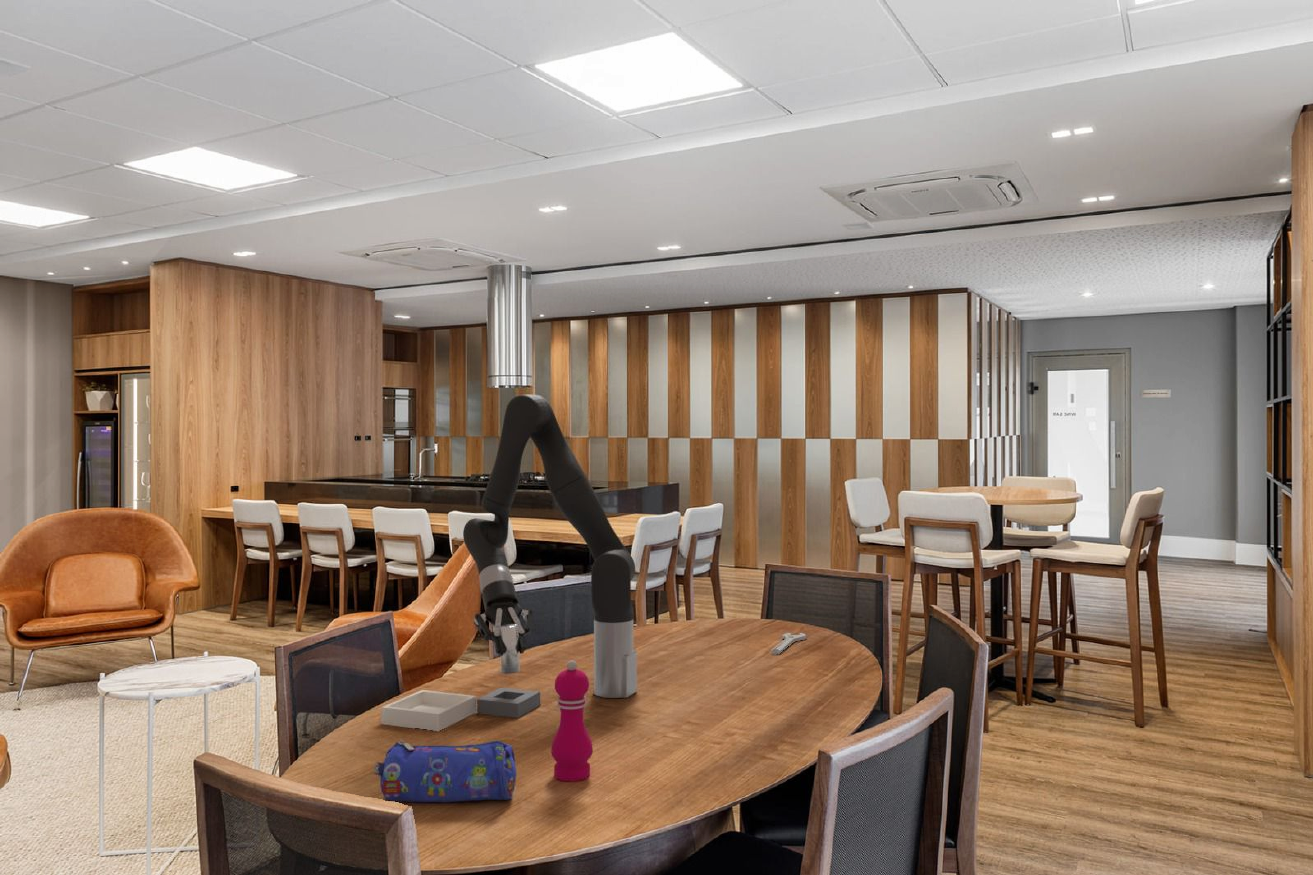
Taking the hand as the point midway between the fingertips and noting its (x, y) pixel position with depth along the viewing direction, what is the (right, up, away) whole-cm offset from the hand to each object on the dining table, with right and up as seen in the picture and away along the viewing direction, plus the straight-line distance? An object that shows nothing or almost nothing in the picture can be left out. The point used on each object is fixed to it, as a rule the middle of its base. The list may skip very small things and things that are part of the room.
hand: (512, 652), depth 193 cm
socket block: (-1, -13, +2) cm, 13 cm away
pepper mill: (+17, -13, -38) cm, 43 cm away
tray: (-17, -13, -5) cm, 22 cm away
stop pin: (-1, -5, +2) cm, 5 cm away
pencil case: (-3, -13, -48) cm, 50 cm away
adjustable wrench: (+68, -14, +64) cm, 95 cm away
